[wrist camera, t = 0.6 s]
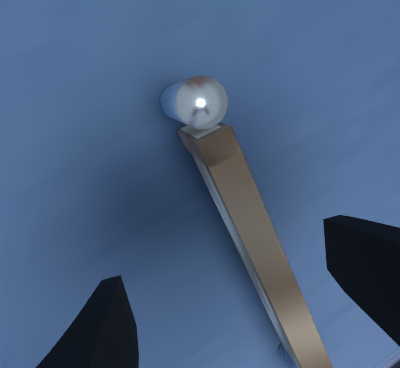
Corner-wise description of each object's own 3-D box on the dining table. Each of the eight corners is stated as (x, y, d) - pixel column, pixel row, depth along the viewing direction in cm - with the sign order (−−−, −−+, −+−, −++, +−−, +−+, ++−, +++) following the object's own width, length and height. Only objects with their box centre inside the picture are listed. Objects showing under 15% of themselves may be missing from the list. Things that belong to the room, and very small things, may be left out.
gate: (297, 333, 25) (347, 403, 19) (279, 344, 25) (324, 417, 19) (200, 118, 19) (231, 125, 13) (176, 130, 19) (197, 143, 13)
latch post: (169, 125, 19) (190, 137, 13) (154, 93, 19) (168, 89, 12) (199, 110, 19) (235, 115, 13) (185, 78, 19) (215, 66, 12)
